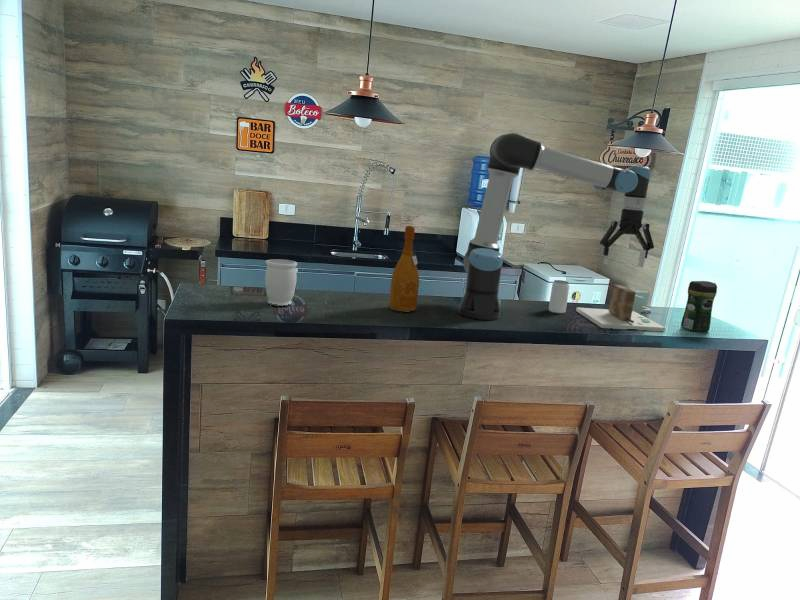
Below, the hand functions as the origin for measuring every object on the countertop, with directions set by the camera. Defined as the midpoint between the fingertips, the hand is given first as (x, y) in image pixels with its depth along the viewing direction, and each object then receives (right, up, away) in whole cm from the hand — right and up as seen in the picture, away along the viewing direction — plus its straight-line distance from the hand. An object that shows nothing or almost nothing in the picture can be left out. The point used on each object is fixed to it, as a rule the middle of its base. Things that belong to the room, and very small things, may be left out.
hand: (623, 265), depth 224 cm
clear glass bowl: (+16, -18, +23) cm, 34 cm away
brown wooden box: (-1, -20, -2) cm, 20 cm away
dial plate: (-2, -21, +1) cm, 21 cm away
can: (-23, -18, +8) cm, 30 cm away
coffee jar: (+26, -24, -2) cm, 36 cm away
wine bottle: (-84, -17, -12) cm, 86 cm away
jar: (-126, -15, -19) cm, 128 cm away
